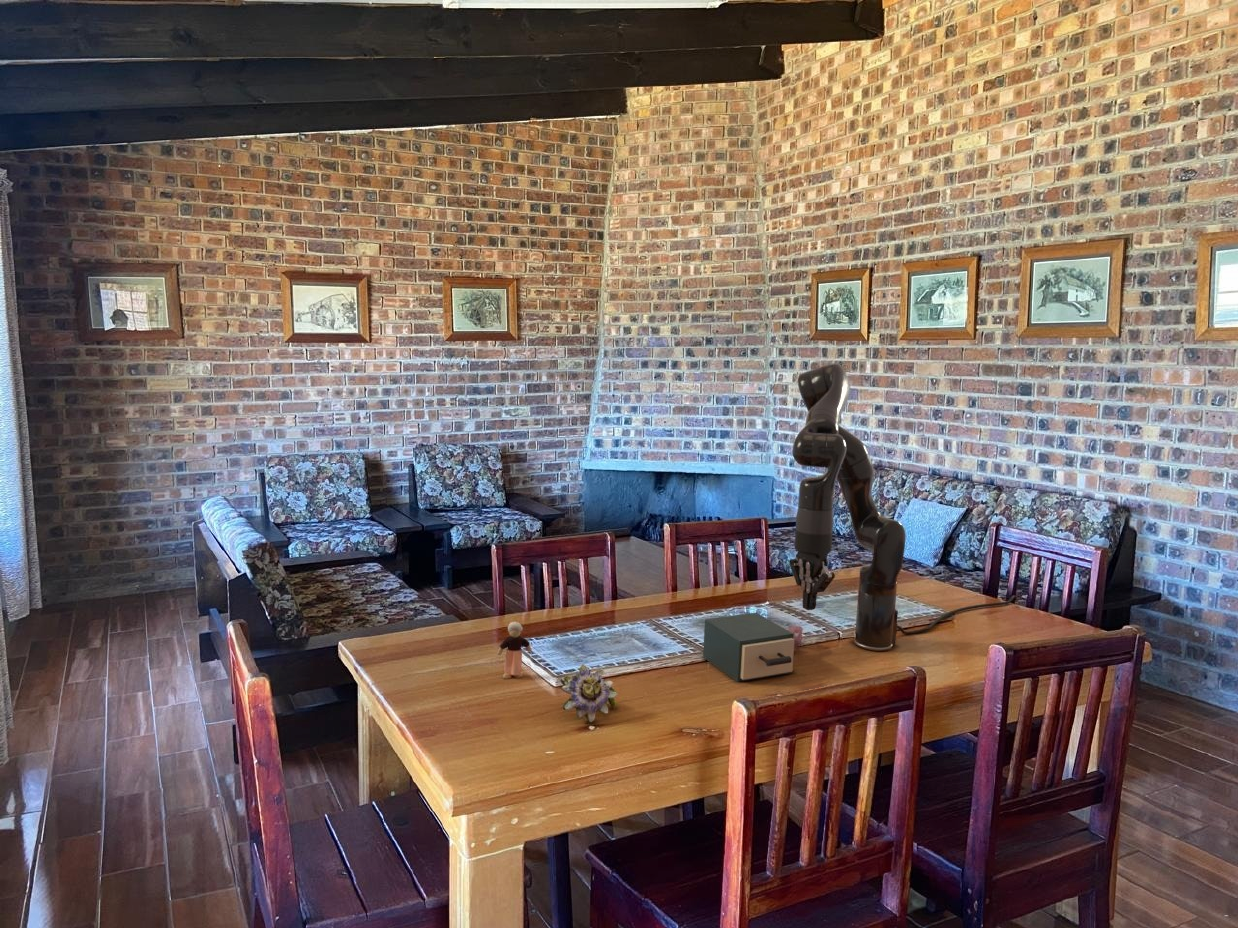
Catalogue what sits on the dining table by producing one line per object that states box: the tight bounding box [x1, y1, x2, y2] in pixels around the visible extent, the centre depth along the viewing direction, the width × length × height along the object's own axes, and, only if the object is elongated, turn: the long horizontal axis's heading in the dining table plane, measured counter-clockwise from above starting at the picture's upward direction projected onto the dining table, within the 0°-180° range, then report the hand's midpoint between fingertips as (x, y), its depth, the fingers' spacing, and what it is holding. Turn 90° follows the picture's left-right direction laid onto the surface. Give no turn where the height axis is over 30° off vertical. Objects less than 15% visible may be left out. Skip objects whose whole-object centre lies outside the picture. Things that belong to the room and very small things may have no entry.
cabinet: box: [702, 612, 794, 683], centre depth 206 cm, size 16×15×10 cm
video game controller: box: [787, 624, 804, 651], centre depth 218 cm, size 10×5×7 cm, turn 168°
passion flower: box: [559, 663, 618, 723], centre depth 179 cm, size 11×11×12 cm
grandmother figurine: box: [496, 620, 533, 680], centre depth 196 cm, size 8×4×13 cm, turn 117°
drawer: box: [740, 638, 795, 680], centre depth 203 cm, size 19×13×8 cm
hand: (808, 608), depth 184 cm, fingers closed
